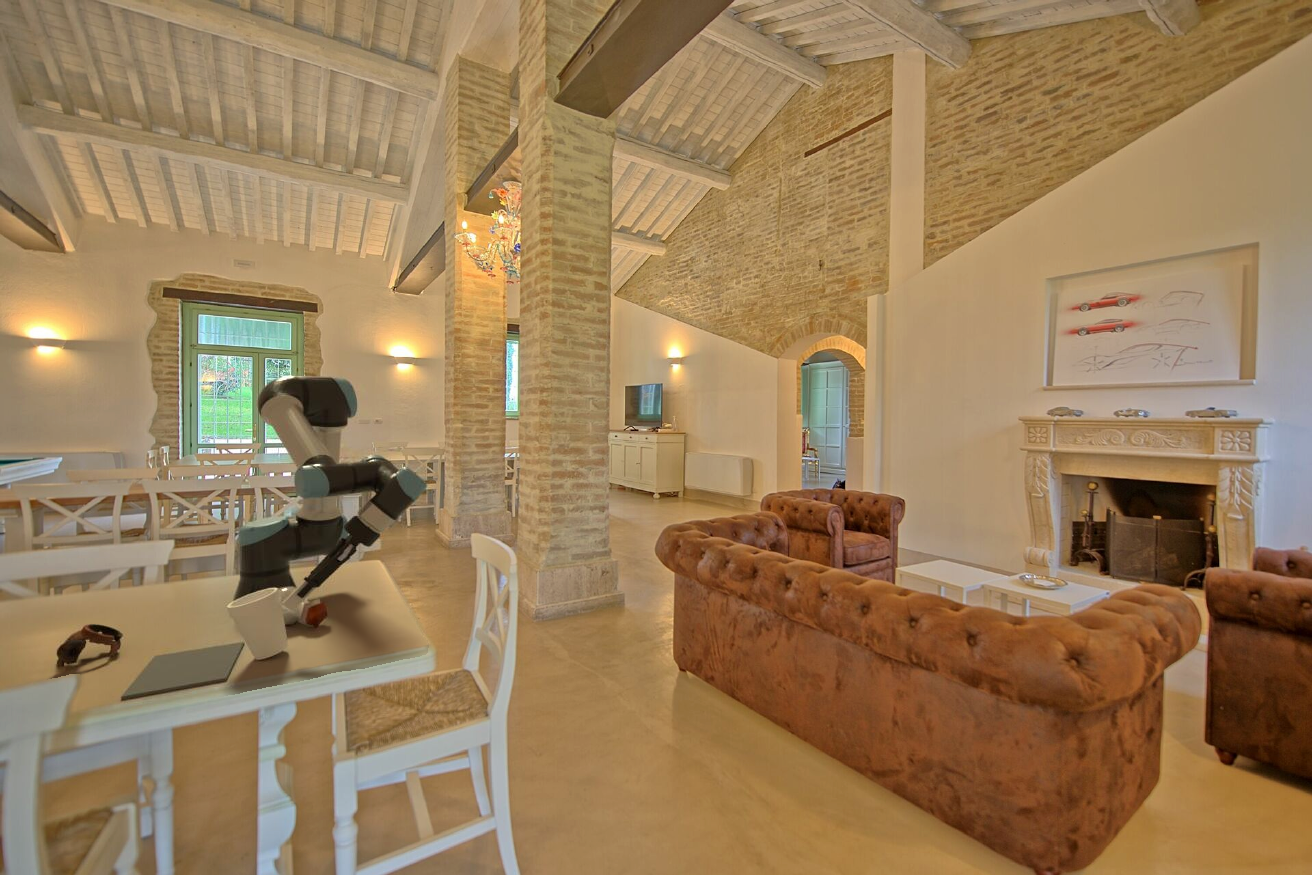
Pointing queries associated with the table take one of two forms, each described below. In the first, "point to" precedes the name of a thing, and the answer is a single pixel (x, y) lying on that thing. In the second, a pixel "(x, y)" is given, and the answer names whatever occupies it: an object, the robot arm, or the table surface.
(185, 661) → the mat
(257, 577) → the robot arm
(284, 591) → the potion bottle
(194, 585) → the table surface
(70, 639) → the brown curved ring piece
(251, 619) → the foam cup
